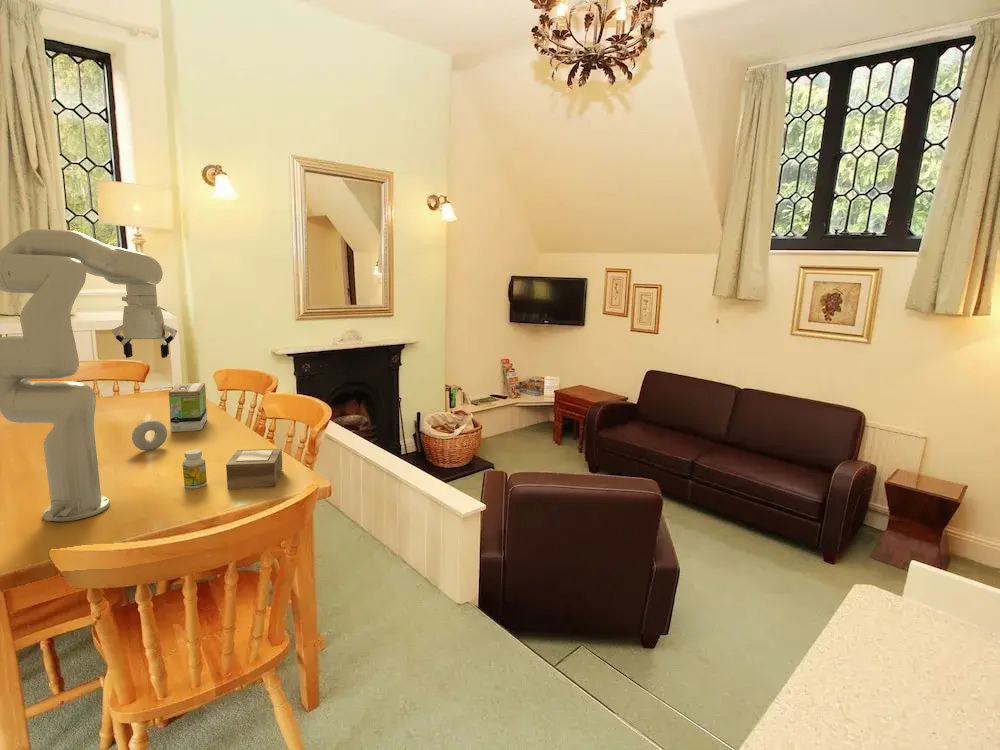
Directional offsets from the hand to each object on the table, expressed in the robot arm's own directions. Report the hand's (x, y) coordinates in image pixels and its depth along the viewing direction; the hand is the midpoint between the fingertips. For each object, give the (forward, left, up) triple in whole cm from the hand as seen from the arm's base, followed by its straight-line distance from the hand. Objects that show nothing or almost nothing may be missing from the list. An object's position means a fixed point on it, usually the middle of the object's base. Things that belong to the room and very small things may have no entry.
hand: (147, 357), depth 166 cm
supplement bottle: (-30, -20, -31) cm, 47 cm away
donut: (+1, +2, -31) cm, 31 cm away
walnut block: (-28, -35, -30) cm, 54 cm away
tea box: (+28, -1, -31) cm, 42 cm away
